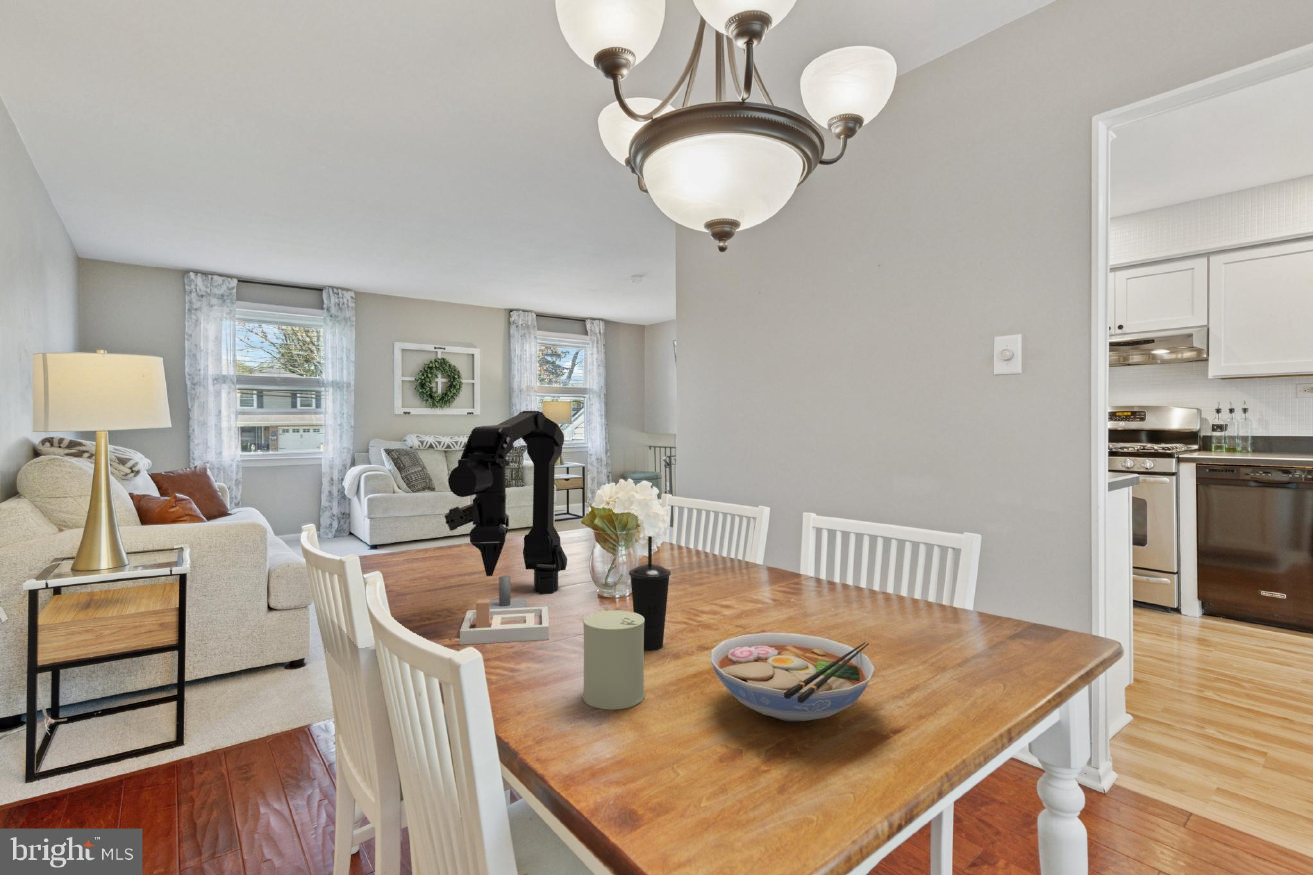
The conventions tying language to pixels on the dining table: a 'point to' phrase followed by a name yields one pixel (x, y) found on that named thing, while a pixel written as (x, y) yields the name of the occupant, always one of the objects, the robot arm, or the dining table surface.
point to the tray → (505, 628)
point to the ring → (498, 617)
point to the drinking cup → (651, 599)
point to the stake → (506, 596)
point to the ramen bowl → (792, 674)
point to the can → (613, 659)
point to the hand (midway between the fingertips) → (491, 570)
